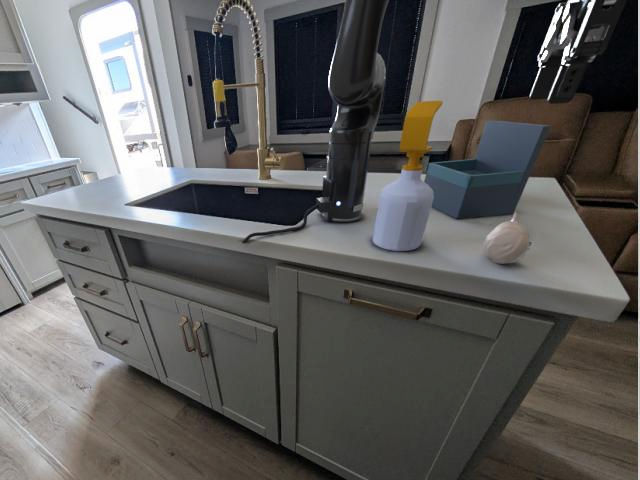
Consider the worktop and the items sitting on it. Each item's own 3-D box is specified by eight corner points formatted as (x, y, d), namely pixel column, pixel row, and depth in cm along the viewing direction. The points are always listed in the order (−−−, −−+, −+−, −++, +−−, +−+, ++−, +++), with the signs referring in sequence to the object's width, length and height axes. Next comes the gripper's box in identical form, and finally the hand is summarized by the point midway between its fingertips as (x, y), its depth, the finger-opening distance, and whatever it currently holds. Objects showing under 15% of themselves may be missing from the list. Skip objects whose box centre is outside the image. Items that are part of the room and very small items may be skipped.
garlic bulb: (530, 263, 53) (553, 217, 49) (507, 272, 51) (528, 226, 47) (490, 249, 58) (507, 207, 54) (467, 258, 56) (483, 215, 52)
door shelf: (456, 219, 72) (485, 131, 62) (419, 200, 85) (438, 125, 75) (513, 213, 72) (551, 125, 62) (467, 195, 85) (493, 120, 75)
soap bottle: (426, 239, 64) (466, 98, 50) (411, 256, 58) (451, 102, 45) (382, 231, 69) (407, 101, 55) (365, 245, 64) (388, 105, 50)
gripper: (554, -56, 38) (501, 100, 47) (603, -106, 28) (524, 106, 37) (639, -74, 35) (566, 96, 44) (731, -137, 25) (611, 102, 34)
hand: (547, 101), depth 40 cm, fingers open, 8 cm apart
